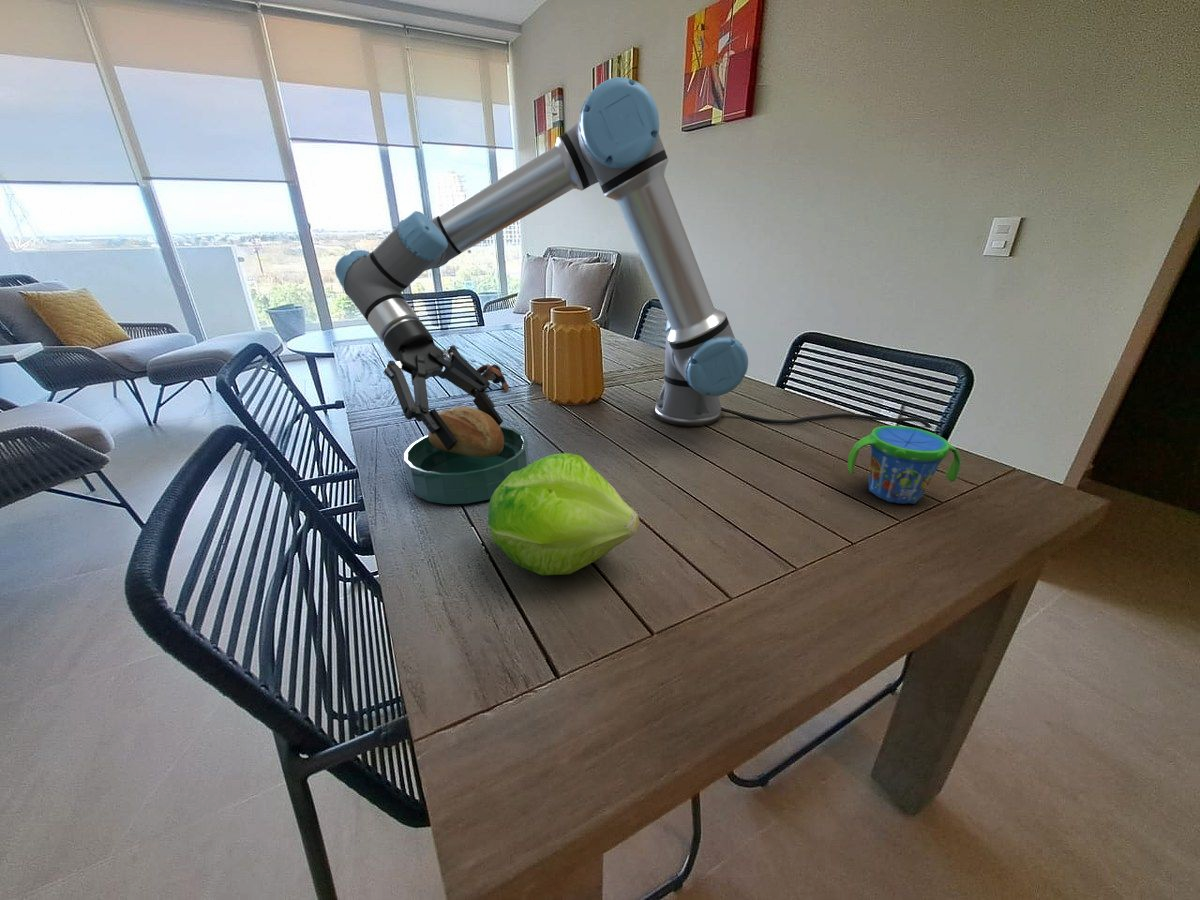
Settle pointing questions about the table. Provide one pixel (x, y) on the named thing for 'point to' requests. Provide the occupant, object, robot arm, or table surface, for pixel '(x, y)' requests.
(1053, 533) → the table surface
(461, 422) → the bread roll
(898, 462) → the snack cup
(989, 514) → the table surface
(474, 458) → the bowl
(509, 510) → the lettuce
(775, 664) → the table surface
